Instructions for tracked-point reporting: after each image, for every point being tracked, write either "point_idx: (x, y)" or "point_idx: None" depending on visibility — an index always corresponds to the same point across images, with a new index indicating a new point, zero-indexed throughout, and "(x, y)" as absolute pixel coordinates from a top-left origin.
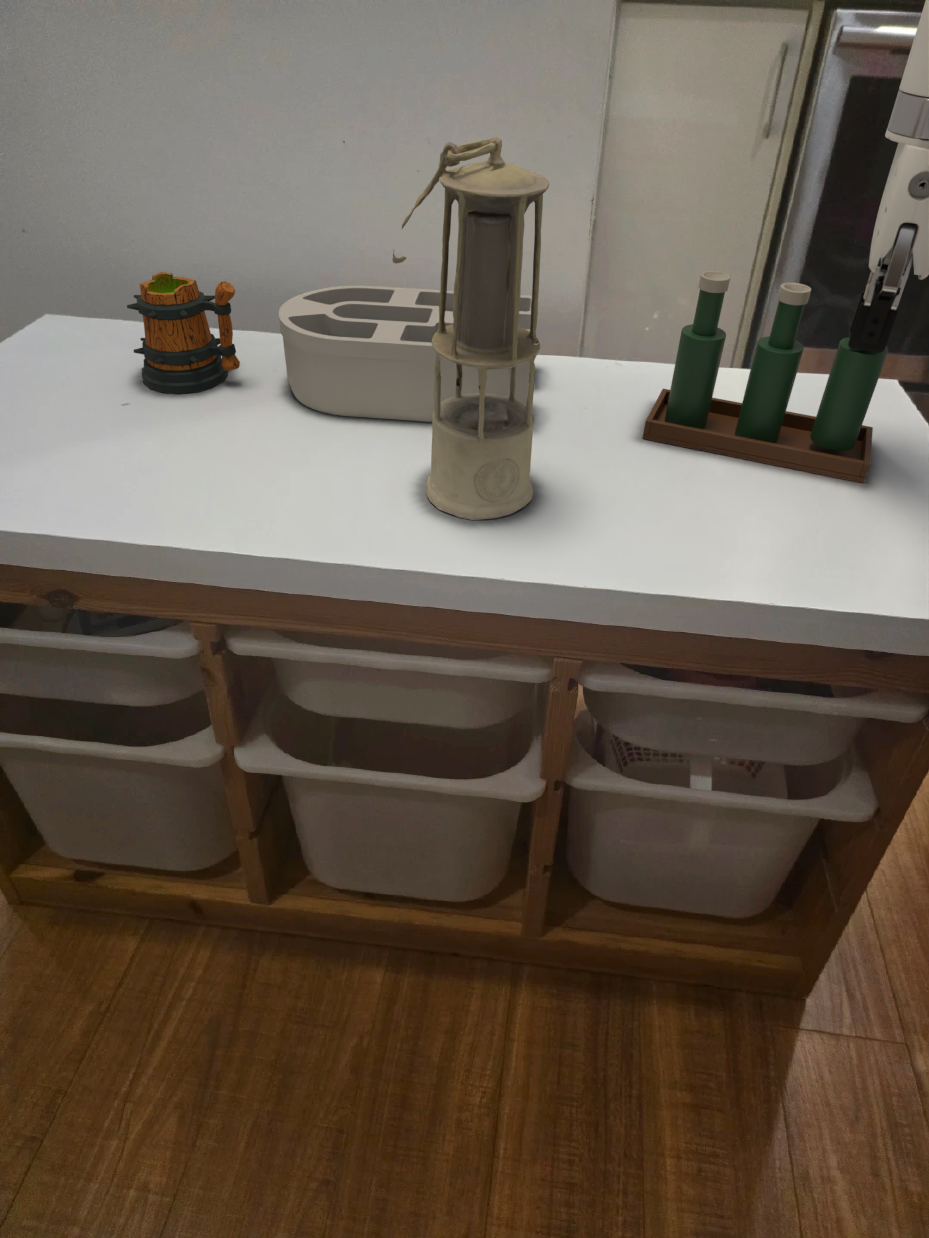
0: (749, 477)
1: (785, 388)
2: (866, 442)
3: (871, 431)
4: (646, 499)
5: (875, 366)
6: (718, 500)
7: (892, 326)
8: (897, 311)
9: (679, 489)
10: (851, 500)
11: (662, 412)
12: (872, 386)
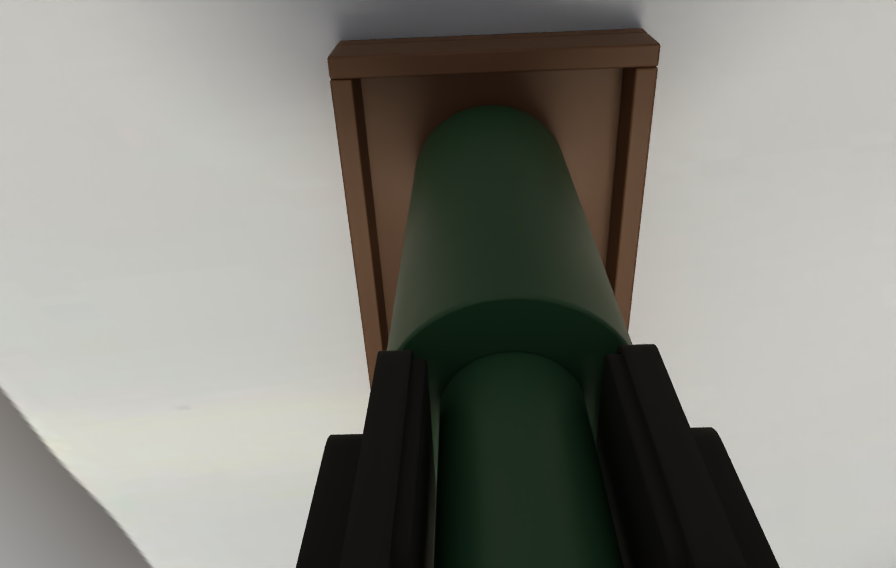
0: (708, 330)
1: None
2: (478, 71)
3: (371, 60)
4: (878, 491)
5: (608, 296)
6: (853, 373)
7: (698, 457)
8: (742, 558)
9: (816, 448)
10: (772, 56)
11: None
12: (564, 222)
